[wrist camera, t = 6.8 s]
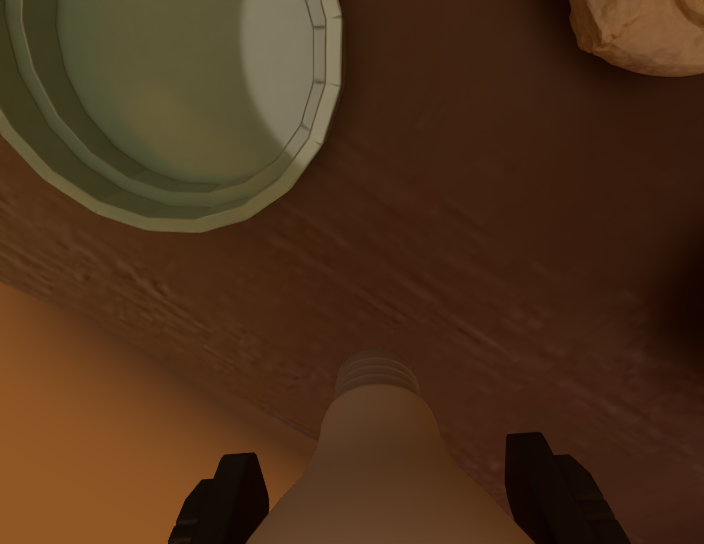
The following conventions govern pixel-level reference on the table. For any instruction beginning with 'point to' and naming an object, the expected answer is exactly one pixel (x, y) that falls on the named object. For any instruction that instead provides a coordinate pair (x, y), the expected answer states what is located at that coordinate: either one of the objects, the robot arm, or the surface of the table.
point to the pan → (171, 102)
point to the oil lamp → (643, 34)
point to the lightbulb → (384, 472)
